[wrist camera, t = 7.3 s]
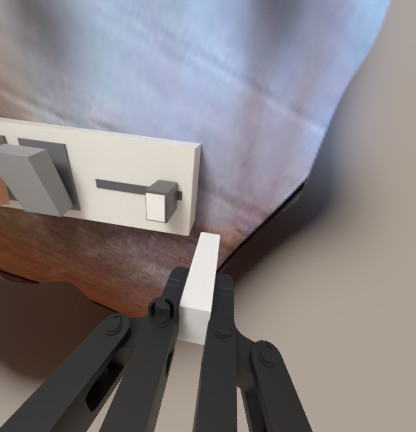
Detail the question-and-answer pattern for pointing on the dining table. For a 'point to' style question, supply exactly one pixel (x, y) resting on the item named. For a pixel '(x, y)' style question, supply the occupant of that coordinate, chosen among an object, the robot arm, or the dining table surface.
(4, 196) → the block
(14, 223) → the dining table surface
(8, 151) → the grey rocker
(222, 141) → the dining table surface
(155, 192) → the slider knob
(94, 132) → the panel
